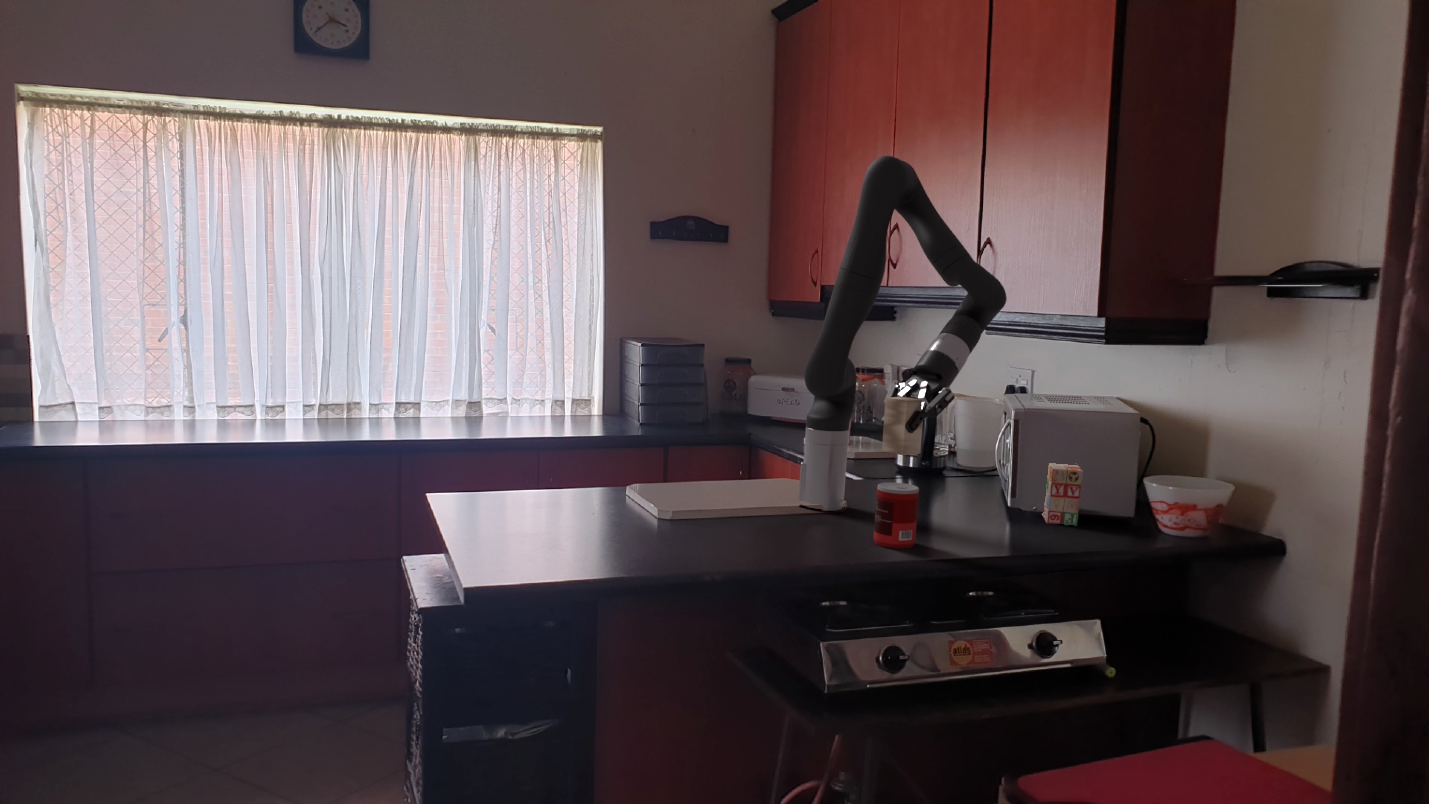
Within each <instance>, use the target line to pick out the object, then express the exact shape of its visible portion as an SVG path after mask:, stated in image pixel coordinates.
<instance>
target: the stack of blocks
mask: <svg viewBox="0 0 1429 804" xmlns="http://www.w3.org/2000/svg"><path fill="white" fill-rule="evenodd" d="M1083 473H1084V471H1083V469H1082V468H1081V467H1080V465H1078V464H1077V465H1068V464H1056V463H1049V465H1048V475H1047V484H1046V496H1045V502H1044V512H1043V513H1042V514H1041V515H1042V516H1041V517H1043V519H1044V521H1045V523H1046V524H1048V525H1057V524H1064V525H1063V526H1068V525H1074V526H1073V527H1077V526H1078V520H1079V507H1080V499H1081V492H1082V482H1083V475H1084V474H1083Z"/></svg>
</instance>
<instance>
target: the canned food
mask: <svg viewBox="0 0 1429 804" xmlns="http://www.w3.org/2000/svg"><path fill="white" fill-rule="evenodd" d="M919 496H920V488H919V486H917V485H914V484H910V483H905V482H881V483H878V484H877V488H876V500H875V510H874V511H875V512H874V513H875V514H874V527H873V542H874V544H876V545H877V546H879V547H883V548H887V549H888V548H889V549H896V550H900V549H901V550H902V549H905V548H906V549H910V548H913V547H914V545H915V542H916V533H917V521H918V512H919V511H918V510H919V509H918V508H919ZM906 549H905V550H906Z"/></svg>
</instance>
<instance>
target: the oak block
mask: <svg viewBox="0 0 1429 804" xmlns="http://www.w3.org/2000/svg"><path fill="white" fill-rule="evenodd" d="M884 400H885V403H884V412H883V413H884V415H883V416H884V426H883V430H882V431H883V432H882V444H881V451H882V452H887V453H890V454H894V455H895V454H896V455H901V456H905V455H907V456H909V455H916V454H921V449H922V437H923V435H922V434H923V424H924V423H923V421H924V420H923V421H922V423H921V424H920V426H919V427H918V428H917V430H915V431H914V432H913V433H908V431H907V430H906V428H905V424H906V423H907V421H908V420H909V418H910V417H911V416H912V414H913V413H914V411H917V406H918V405H919V403H920V400H918V399H915V398H908V397H906V396H905V397H887V398H885V397H884Z"/></svg>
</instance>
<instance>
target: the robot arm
mask: <svg viewBox="0 0 1429 804" xmlns="http://www.w3.org/2000/svg"><path fill="white" fill-rule="evenodd" d="M895 211H896V213H898V214H899V215H900V216H901V217H902V219H904V221H905V222H906V223H907V224H908V225H909V227H910V229H911V230H912V231H913V233H914V235H915V236H916V238H917V241H918V243H919V246H920V247H921V249H922V251H923V253H924V254H925V256H926V259H928V262H930V265H931V266H932V267H933V268H934V270H935V271H936V272H937V274H938V275H939V276H940V277H941V279H942V280H943V282H945V283H944V284H946V285H948V286H949V287H958V286H960V287H962V289H964V291H966V292H967V294H966V295H965V296H964V298H963V299H962V301H961V302H960V303H959V305H958V306H957V308H956V310H955V312H954V313H953V315H952V317H950V319H949V320H948V322H946V324H945V325H944V326H943V328H942V329H941V331H940V332H939V334H938V335H937V336H936V337H935V339H933V340H932V341H931V343H930V344H929V345H928V347H927V348H926V350H925V351H924V353H923V354H922V355H921V356H920V358H919V359H918V361H917V362H916V364H915V366H914V367H913V369H912V375H911V377H909V378H908V379H907V380H906V381H905V382H899V381H898V380H897V379H896V380H893V381H892V382H891V384H890V386H889V388H888V391H887V392H886V395H885V397H884V399H883V403H884V404H885V398H887V397H908V398H915V399H918V400H920V403H919V405H918V406H917V411H914V413H913V414H912V416H911V417H910V418H909V420H908V421H907V423H906V424H905V428H906V430H907V431H908V433H913V432H914V431H915V430H917V428H918V427H919V426H920V424H921V423H922V421H924V420H927V419H928V418H932V419H936V418H937V417H938V416H939V415H940V414H941V413H942V412H943V411H944V410H945V409H946V408H947V407H948V406H949V405H950V404H951V402H953V401H954V400H955V398H956V396H955V395H954V393H953V391H952V390H951V388H950V386H951V385H952V384H953V383H954V381H955V379H956V378H957V376H959V373H960V372H961V371H962V369H963V367H964V366H965V364H966V362H967V360H968V358H969V357H970V355H971V353H972V352H973V350H975V347H976V346H977V344H978V343H979V341H980V339H981V337H982V334H983V332H984V331H985V330H986V328H988V326H989V325H990V323H992V321H993V319H994V318H995V317H996V316H997V315H998V314H999V312H1001V310H1002V309H1003V308H1004V307H1005V305H1006V303H1007V292H1006V289H1005V288H1004V285H1003V284H1002V283H1001V281H999V279H998V278H997V277H996V276H994V275H993V274H992V273H991V272H990V271H989V270H987V269H986V268H985V267H983V266H982V265H981V264H979V263H977V262H976V261H975V260H974V259H973V257H972V255H971V254H970V253H969V252H968V250H967V249H966V248H965V246H964V245H963V243H961V241H960V240H959V238H958V237H957V236H956V235H955V233H954V232H953V231H952V230H951V228H950V227H949V226H948V224H947V223H946V222H945V221H944V219H943V218H942V217H941V214H940V213H939V212H938V211H937V209H936V207H935V206H934V203H932V201H931V200H930V198H929V196H928V194H927V192H926V190H925V188H924V186H923V184H922V182H921V180H920V178H919V176H918V173H917V172H916V171H915V168H913V166H912V165H911V164H910V163H908V162H907V161H904V160H902V159H900V158H897V157H895V156H891V155H884V156H883V155H882V156H880V157H878V158H876V159H875V160H873V162H871V163H870V165H869V166H868V168H867V170H866V172H865V175H864V178H863V181H862V186H861V191H860V196H859V201H858V205H857V211H856V214H855V219H854V223H853V226H852V229H851V232H850V235H849V237H848V241H847V245H846V248H845V251H844V254H843V257H842V261H841V263H840V265H839V269H838V271H837V274H836V278H835V281H834V284H833V285H834V286H833V289H832V293H831V296H830V299H829V303H828V305H827V310H826V311H825V317H824V320H823V324H822V327H821V330H820V332H819V335H818V338H817V340H816V343H815V345H814V346H813V349H812V352H811V354H810V357H809V359H808V361H807V364H806V365H805V370H804V376H803V377H804V383H805V387H806V389H807V390H808V391H809V393H810V394H811V395H812V396H814V397H813V402H812V403H813V404H812V406H811V409H810V410H809V412H808V413H807V415H806V419H805V420H806V423H805V435H804V437H805V438H804V454H803V461H802V462H801V463H800V473H799V488H798V500H799V501H806V502H808V503H810V504H819V505H822V506H824V507H823V508H824V510H823V511H833V512H835V511H839V510H840V511H841V510H843V509H842V506H843V507H844V505H843V504H845V503H844V502H845V489H846V477H847V476H846V475H847V460H848V446H849V445H848V443H849V430H850V423H851V419H852V417H853V413H854V407H855V398H856V390H857V371H856V367H855V364H854V363H853V362H852V360H851V359H850V358H849V354H850V352H851V349H852V345H853V341H854V339H855V337H856V335H857V333H858V331H859V330H860V328H861V326H862V325H863V324H864V323H865V321H866V318H868V316H869V314H870V312H871V311H872V309H873V307H874V304H875V302H876V300H877V298H878V294H879V292H880V290H881V285H882V282H883V279H884V277H885V276H884V275H885V271H886V265H887V264H886V263H887V240H888V239H887V237H888V229H889V226H890V223H891V220H892V216H893V214H894V212H895ZM880 421H881V426H883V427H884V415H883V416H882V417H881V420H880Z"/></svg>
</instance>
